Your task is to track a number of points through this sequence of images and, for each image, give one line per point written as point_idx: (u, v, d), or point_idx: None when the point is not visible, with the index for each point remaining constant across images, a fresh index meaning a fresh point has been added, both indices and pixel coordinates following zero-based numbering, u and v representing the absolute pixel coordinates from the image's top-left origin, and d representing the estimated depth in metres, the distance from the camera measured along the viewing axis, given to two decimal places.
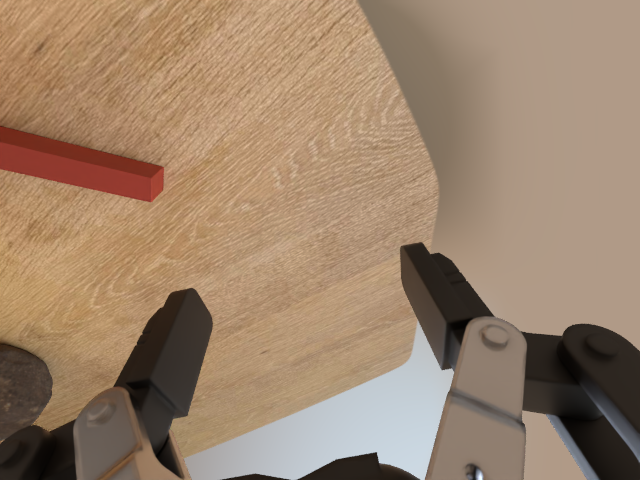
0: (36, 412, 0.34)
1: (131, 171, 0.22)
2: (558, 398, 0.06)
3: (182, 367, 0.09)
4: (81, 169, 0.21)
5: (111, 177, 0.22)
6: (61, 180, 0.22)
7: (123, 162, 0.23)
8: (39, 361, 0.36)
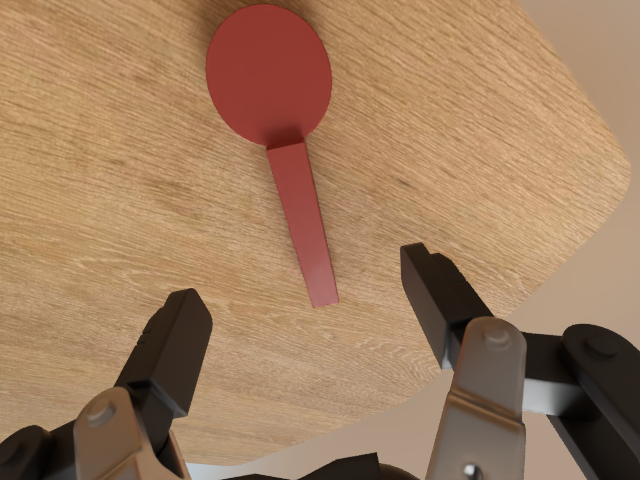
0: None
1: (335, 286, 0.22)
2: (558, 398, 0.06)
3: (182, 367, 0.09)
4: (320, 258, 0.20)
5: (324, 279, 0.21)
6: (297, 245, 0.19)
7: (331, 265, 0.23)
8: None
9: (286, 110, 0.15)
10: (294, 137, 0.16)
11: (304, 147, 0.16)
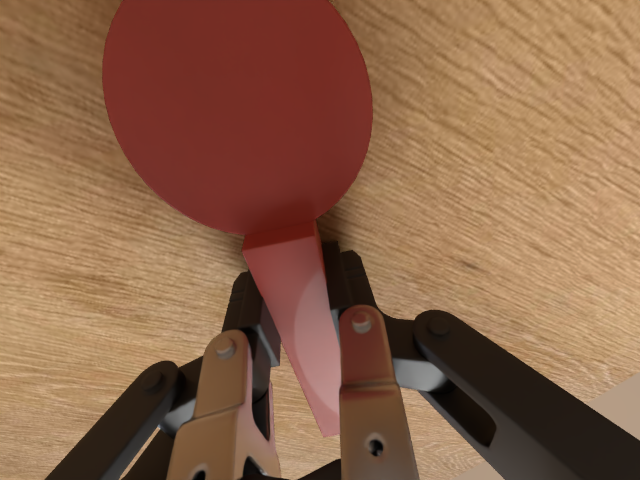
0: None
1: None
2: (411, 373, 0.07)
3: (272, 322, 0.10)
4: (336, 387, 0.13)
5: None
6: (300, 374, 0.12)
7: None
8: None
9: (280, 176, 0.08)
10: (296, 220, 0.09)
11: (315, 243, 0.08)
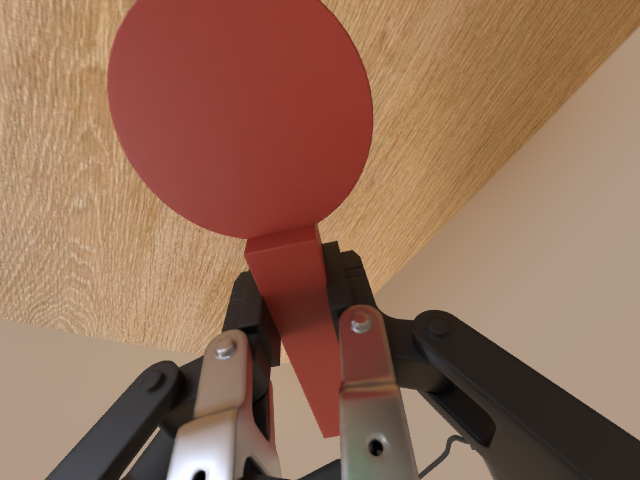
0: None
1: None
2: (410, 373, 0.07)
3: (273, 322, 0.10)
4: (337, 388, 0.13)
5: None
6: (301, 376, 0.12)
7: None
8: None
9: (282, 181, 0.08)
10: (297, 224, 0.09)
11: (316, 247, 0.08)
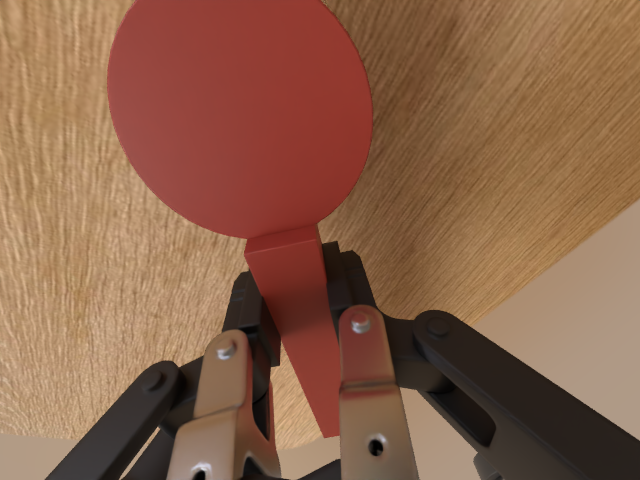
0: None
1: None
2: (410, 373, 0.07)
3: (272, 321, 0.10)
4: (337, 388, 0.13)
5: None
6: (301, 375, 0.12)
7: None
8: None
9: (282, 181, 0.08)
10: (297, 224, 0.09)
11: (316, 247, 0.08)
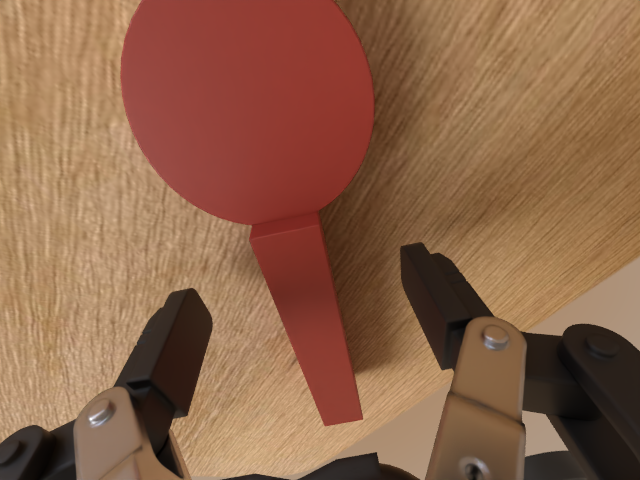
0: None
1: None
2: (558, 398, 0.06)
3: (182, 367, 0.09)
4: (338, 375, 0.13)
5: (343, 397, 0.14)
6: (303, 362, 0.12)
7: (352, 367, 0.15)
8: None
9: (286, 168, 0.08)
10: (300, 211, 0.09)
11: (319, 232, 0.09)
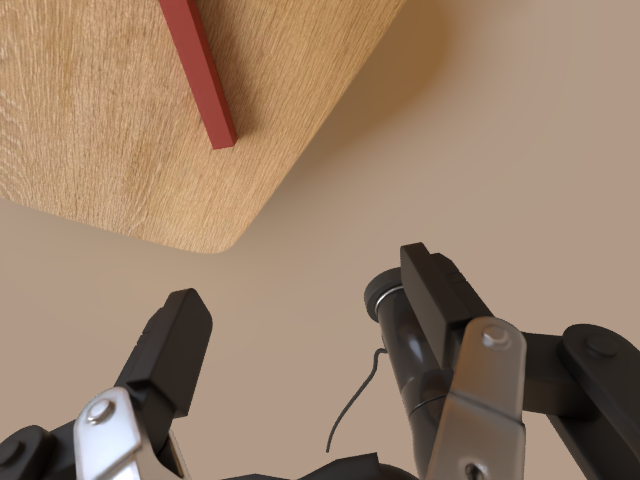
0: None
1: (229, 130, 0.29)
2: (558, 398, 0.06)
3: (182, 367, 0.09)
4: (210, 96, 0.27)
5: (217, 119, 0.28)
6: (190, 81, 0.26)
7: (228, 116, 0.29)
8: None
9: None
10: None
11: None
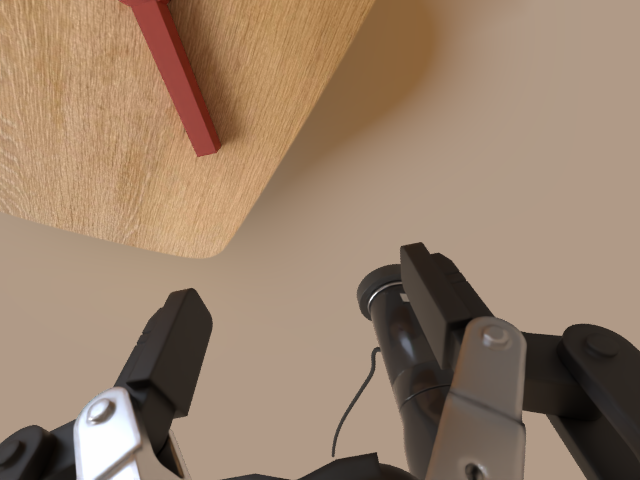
0: None
1: (211, 137, 0.30)
2: (558, 398, 0.06)
3: (182, 367, 0.09)
4: (191, 106, 0.28)
5: (199, 127, 0.29)
6: (171, 93, 0.27)
7: (210, 124, 0.31)
8: None
9: None
10: (152, 0, 0.24)
11: (156, 5, 0.24)
